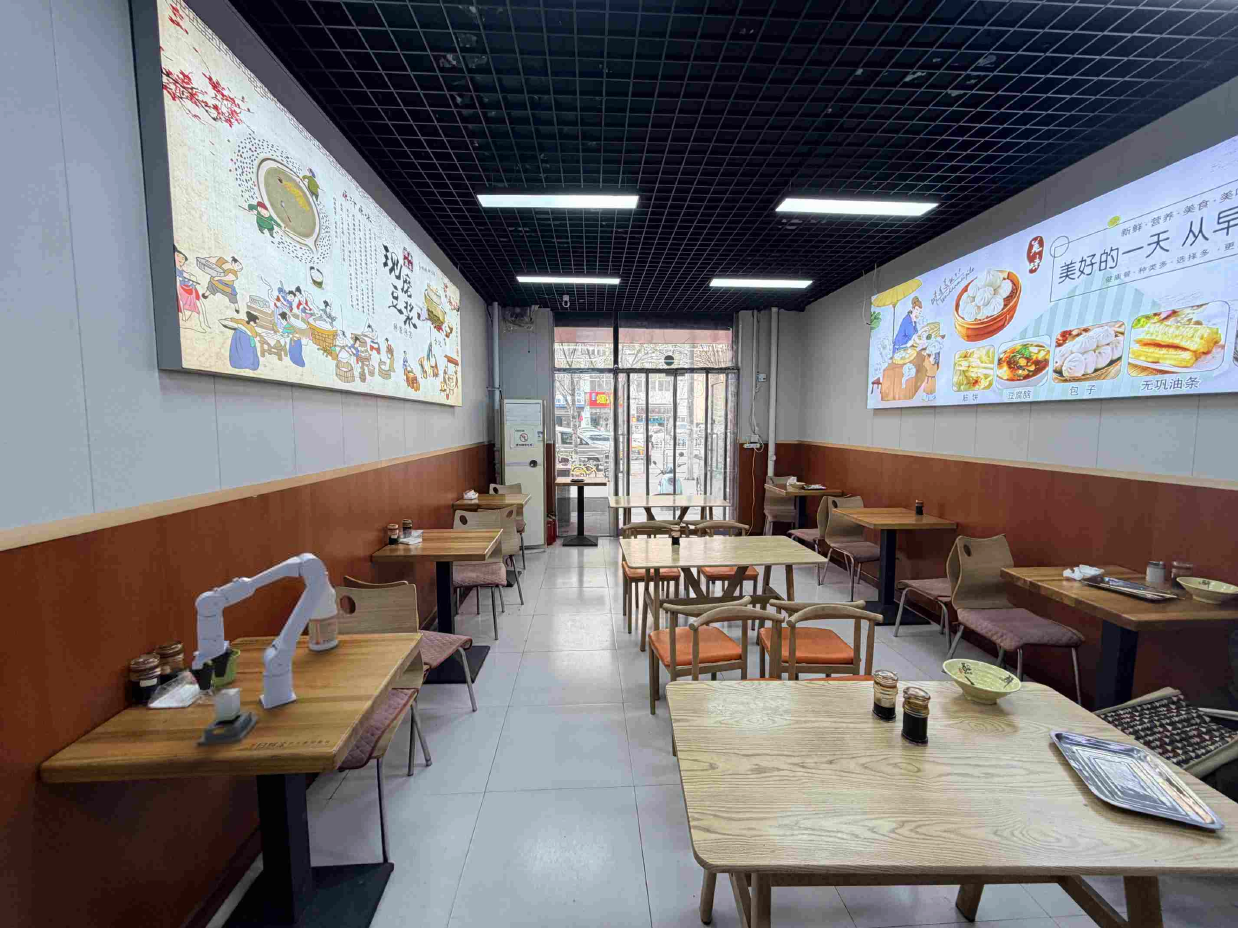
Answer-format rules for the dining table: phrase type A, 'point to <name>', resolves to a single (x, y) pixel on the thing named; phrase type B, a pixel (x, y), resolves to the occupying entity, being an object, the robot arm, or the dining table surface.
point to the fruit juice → (324, 621)
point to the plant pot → (230, 670)
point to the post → (227, 704)
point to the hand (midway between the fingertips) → (212, 683)
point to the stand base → (228, 729)
